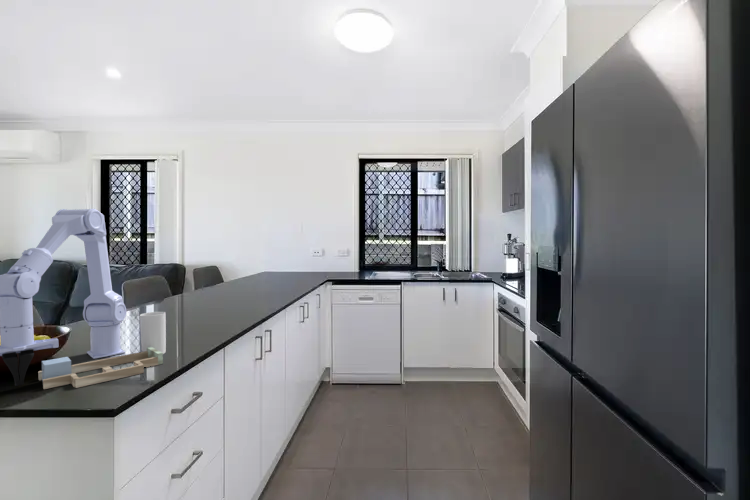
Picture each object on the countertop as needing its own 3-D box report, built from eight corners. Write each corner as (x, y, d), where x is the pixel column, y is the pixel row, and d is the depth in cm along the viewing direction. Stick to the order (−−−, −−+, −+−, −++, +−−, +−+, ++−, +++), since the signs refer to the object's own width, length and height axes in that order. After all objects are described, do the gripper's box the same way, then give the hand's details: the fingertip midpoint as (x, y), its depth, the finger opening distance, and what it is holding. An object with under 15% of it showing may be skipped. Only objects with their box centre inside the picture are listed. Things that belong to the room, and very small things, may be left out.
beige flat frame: (38, 379, 98) (38, 367, 98) (151, 356, 116) (151, 346, 116) (46, 394, 88) (45, 381, 88) (168, 367, 106) (168, 356, 106)
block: (42, 381, 97) (41, 361, 97) (68, 376, 100) (67, 356, 100) (45, 386, 93) (44, 365, 93) (71, 381, 97) (71, 360, 97)
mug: (164, 355, 117) (163, 314, 117) (138, 358, 115) (137, 316, 115) (169, 347, 127) (168, 309, 127) (145, 349, 125) (144, 311, 124)
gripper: (-28, 333, 84) (-26, 398, 84) (59, 322, 94) (61, 380, 94) (-29, 329, 89) (-26, 389, 89) (55, 319, 99) (57, 373, 99)
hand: (19, 384), depth 92 cm, fingers closed
